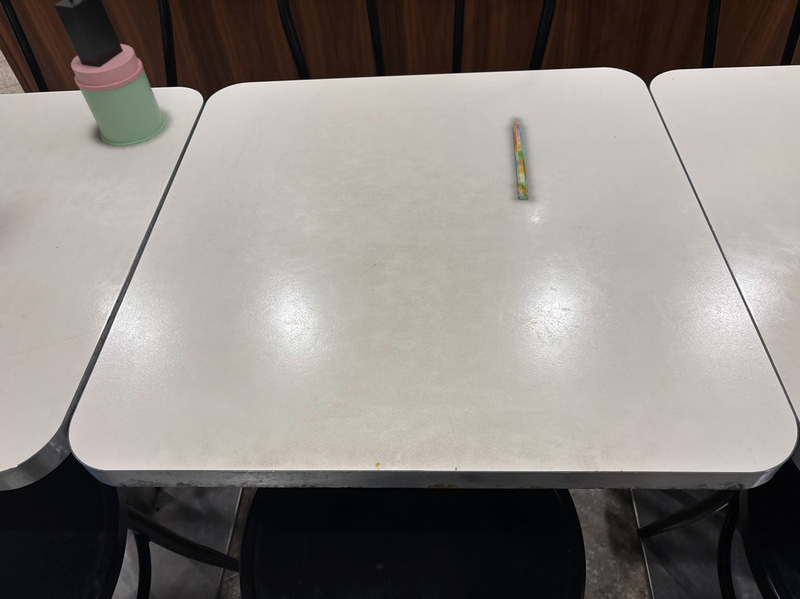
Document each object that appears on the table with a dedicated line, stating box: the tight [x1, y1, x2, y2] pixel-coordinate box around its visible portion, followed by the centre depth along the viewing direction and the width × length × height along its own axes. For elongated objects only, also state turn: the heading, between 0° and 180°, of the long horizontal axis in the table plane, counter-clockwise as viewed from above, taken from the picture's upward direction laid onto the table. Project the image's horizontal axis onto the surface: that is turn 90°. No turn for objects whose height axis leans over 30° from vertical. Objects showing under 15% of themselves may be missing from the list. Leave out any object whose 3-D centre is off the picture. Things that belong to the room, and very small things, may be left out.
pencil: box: [512, 118, 530, 201], centre depth 80 cm, size 1×1×18 cm
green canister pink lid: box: [70, 43, 168, 147], centre depth 87 cm, size 10×10×12 cm
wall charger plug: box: [53, 0, 123, 67], centre depth 79 cm, size 3×5×10 cm, turn 158°
